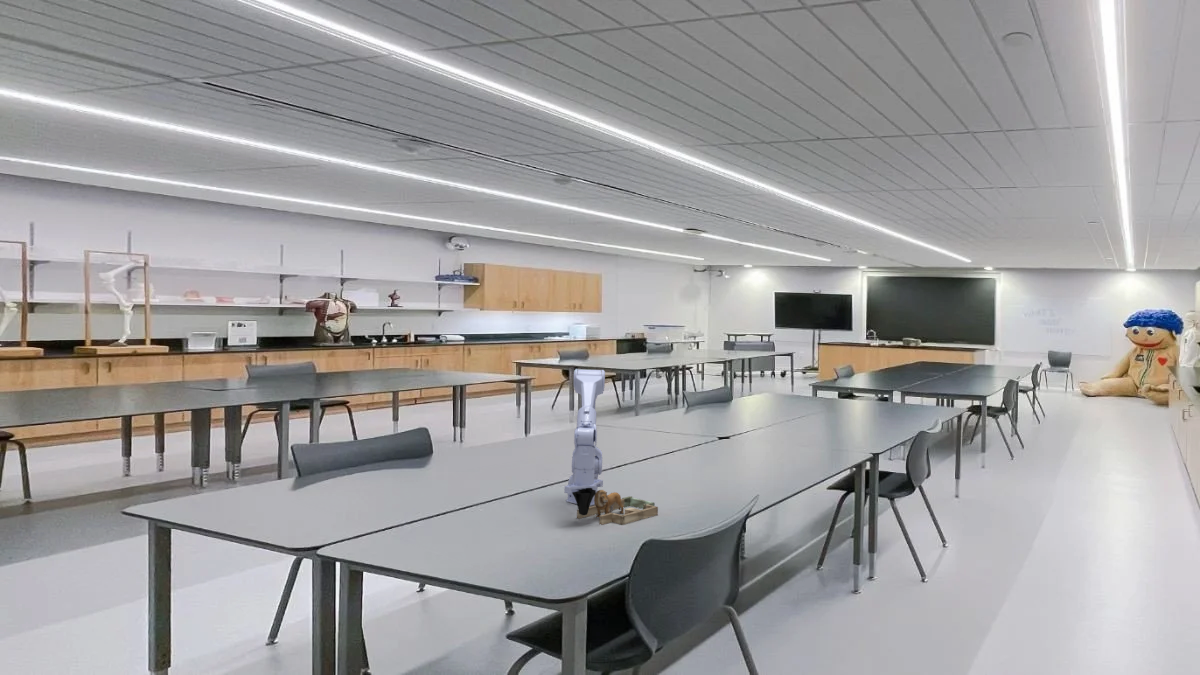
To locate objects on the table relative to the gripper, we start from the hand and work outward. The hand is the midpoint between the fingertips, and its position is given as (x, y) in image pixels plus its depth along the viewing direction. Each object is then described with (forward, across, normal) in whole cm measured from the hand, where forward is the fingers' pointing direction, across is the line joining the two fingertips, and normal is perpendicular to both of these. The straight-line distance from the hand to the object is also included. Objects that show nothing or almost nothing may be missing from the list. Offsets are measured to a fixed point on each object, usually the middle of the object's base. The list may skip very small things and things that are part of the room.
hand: (583, 514), depth 229 cm
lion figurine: (+3, +12, 0) cm, 12 cm away
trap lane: (+3, +15, -2) cm, 16 cm away
